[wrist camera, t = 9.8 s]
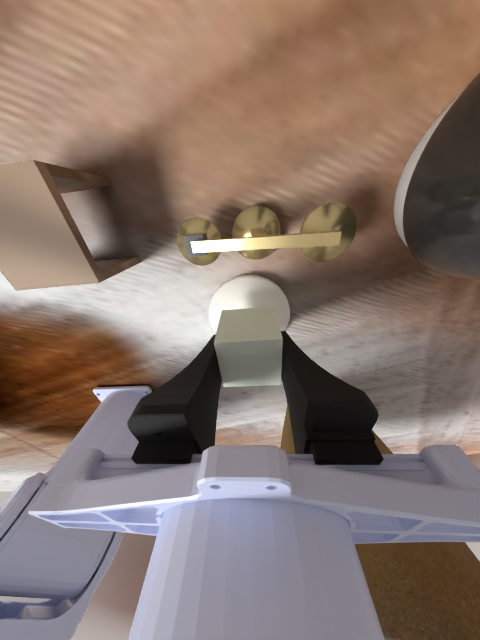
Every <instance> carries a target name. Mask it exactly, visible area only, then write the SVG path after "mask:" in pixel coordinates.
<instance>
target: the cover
mask: <svg viewBox="0 0 480 640" xmlns="http://www.w3.org/2000/svg"><path fill="white" fill-rule="evenodd" d="M104 187H111V184H110V182H109V179H108V177H104V176H99V175H95V174H91V173H86V172H82V171H78V170H73V169H69V168H65V167H61V166H56V165H52V164H48V163H43V162H39V161H35V160H31V161H24V162H18V163H12V164H6V165H0V271H1V273H2V274H3V275H4V276H5V278H6V279H7V280H8V281H9V282H10V284H11V285H12V286H13V287H14V289H15V290H26V289H37V288H48V287H59V286H69V285H80V284H91V283H100V282H102V281H104V280H106V279H108V278H110V277H112V276H114V275H116V274H118V273H120V272H122V271H124V270H126V269H128V268H130V267H132V266H134V265H136V264H138V263H140V259H139V257H138V256H136V257H127V258H117V259H108V260H98V261H94V259H93V257H92V255H91V253H90V251H89V249H88V247H87V245H86V243H85V241H84V239H83V237H82V236H81V234H80V232H79V230H78V228H77V226H76V224H75V222H74V220H73V218H72V216H71V214H70V212H69V210H68V208H67V206H66V205H65V203H64V201H63V199H62V197H61V195H60V194H61V193H68V192H75V191H82V190H89V189H96V188H104Z"/></svg>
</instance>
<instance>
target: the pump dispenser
mask: <svg viewBox="0 0 480 640" xmlns="http://www.w3.org/2000/svg"><path fill="white" fill-rule="evenodd" d="M394 221H395V225H396V229H397V231H398V234H399V236H400V238H401V239H402V241H403V242H404V244H405V245H406V246H407V247H408V248H409V250H410V252H411V253H412V255H413V256H414V257H415V258H416V259H417V260H418V261H419V262H420V263H421V264H423V265H424V266H426V267H428V268H430V269H432V270H435V271H438V272H441V273H444V274H447V275H451V276H455V277H459V278H463V279H469V280H474V281H480V73H479V74H478V75H477V76H476V77H475V78H474V79H473V81H472V82H471V83H470V84H469V85H468V86H467V87H466V89H465V90H464V91H463V92H462V93H461V94H460V95H459V96H458V97H457V98H456V99H455V100H454V101H453V102H452V103H451V104H450V105H449V106H448V107H447V108H446V109H445V110H444V111H443V112H442V114H441V115H440V116H439V117H438V118H437V119H436V121H435V122H434V123H433V124H432V125H431V127H430V128H429V129H428V131H427V132H426V133H425V135H424V136H423V137H422V139H421V140H420V142H419V143H418V145H417V146H416V148H415V150H414V151H413V153H412V155H411V156H410V158H409V160H408V162H407V164H406V166H405V168H404V170H403V173H402V175H401V177H400V180H399V183H398V186H397V190H396V194H395V200H394Z"/></svg>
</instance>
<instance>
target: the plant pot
mask: <svg viewBox="0 0 480 640" xmlns="http://www.w3.org/2000/svg"><path fill="white" fill-rule="evenodd" d="M372 432H373V430H372ZM373 434H374V436H375V438H376V440H375V441H374V442H375V444H376V445H377V447H378V449H379V451H380V453H381V454H393V453H392V452H391V451H390V450H389V448H388V447H387V446H386V445H385V444H384V443H383V442H382V440H381V439H380V438H379V437H378V436H377V435H376V434H375V433H374V432H373ZM281 449H283V450H284V451H285V452H286V454H295V448H294V441H293V435H292V428H291V422H290V415H289V409H288V406H287V411H286V416H285V421H284V427H283V433H282V440H281ZM354 545H355V548H356V551H357V554H358V557H359V560H360V563H361V566H362V570H363V573H364V576H365V579H366V582H367V585H368V588H369V592H370V595H371V598H372V601H373V604H374V607H375V610H376V613H377V617H378V620H379V623H380V626H381V629H382V632H383V635H384V639H385V640H480V561H479V560H478V559H477V558H476V556H475V555H474V554H473V552H472V551H471V550H470V549H469V548H468V546H467V545H466V543H465V542H402V543H365V544H354Z"/></svg>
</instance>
